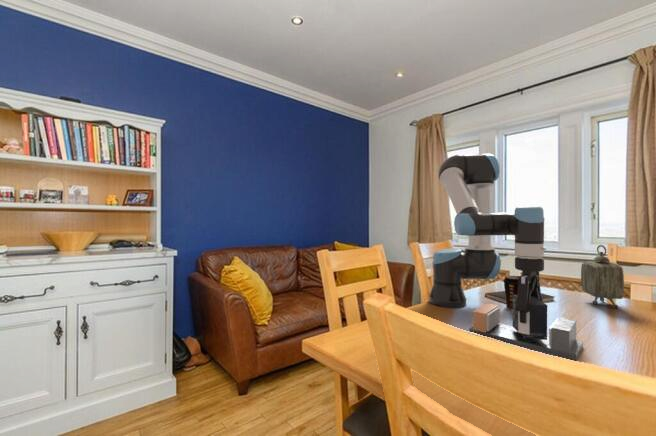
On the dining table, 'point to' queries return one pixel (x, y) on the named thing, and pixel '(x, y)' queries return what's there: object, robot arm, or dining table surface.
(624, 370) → the dining table surface
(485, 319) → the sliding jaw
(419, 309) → the dining table surface
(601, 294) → the tabletop clock
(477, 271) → the robot arm
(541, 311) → the small box
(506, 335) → the vise
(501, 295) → the hardcover book
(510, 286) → the coffee cup
